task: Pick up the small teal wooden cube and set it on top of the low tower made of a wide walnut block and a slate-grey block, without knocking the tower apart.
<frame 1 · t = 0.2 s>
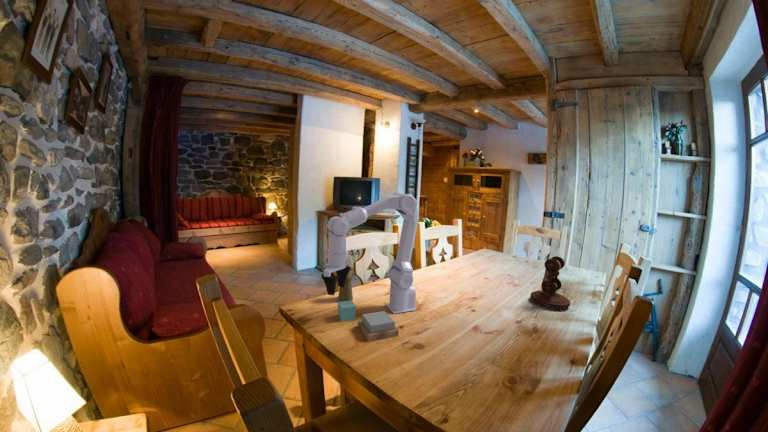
hand: (336, 290, 104), 10 cm above the table, tool pointing down, fingers open, 7 cm apart
teal cube: (346, 317, 106), on the table
walnut block: (377, 332, 98), on the table, touching grey block
grey block: (377, 325, 98), point 2 cm above the table, touching walnut block
olive upright rounded piece: (345, 299, 121), on the table
dark brown carved statue: (549, 303, 128), on the table
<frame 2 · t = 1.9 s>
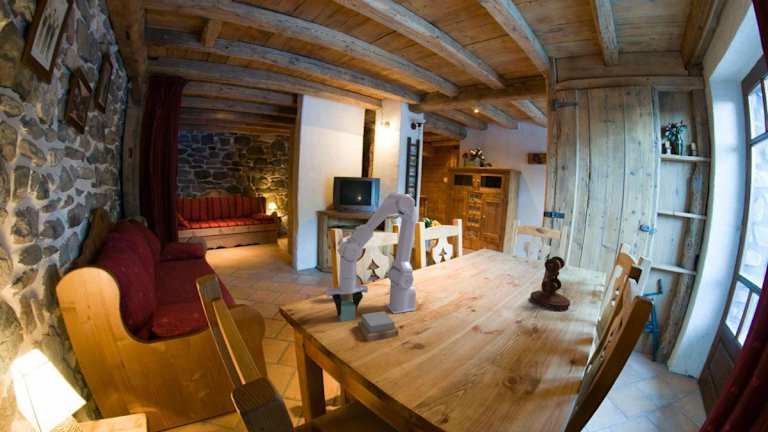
hand: (346, 313, 106), 1 cm above the table, tool pointing down, fingers closed on teal cube, 5 cm apart
teal cube: (346, 317, 106), on the table, touching gripper
everything else where it was.
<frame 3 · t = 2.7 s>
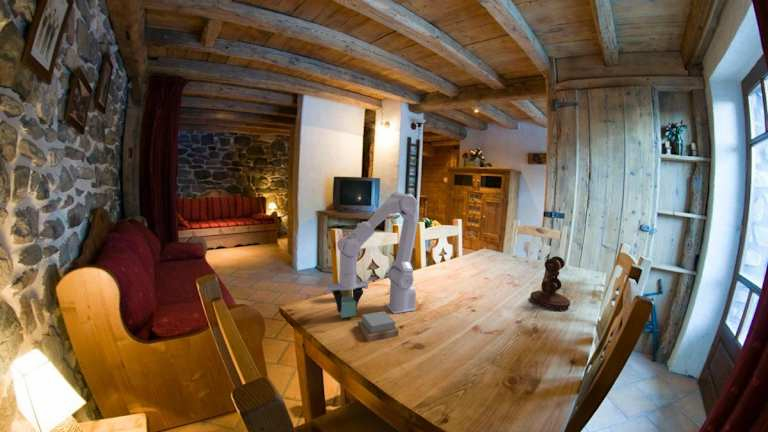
hand: (346, 309, 106), 3 cm above the table, tool pointing down, fingers closed on teal cube, 5 cm apart
teal cube: (346, 313, 106), point 1 cm above the table, touching gripper
everything else where it was.
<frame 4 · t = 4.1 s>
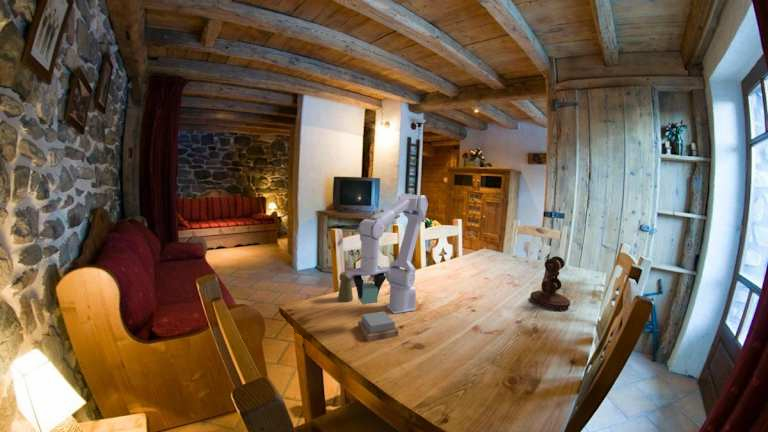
hand: (367, 296, 99), 10 cm above the table, tool pointing down, fingers closed on teal cube, 5 cm apart
teal cube: (367, 300, 100), point 9 cm above the table, touching gripper
everything else where it was.
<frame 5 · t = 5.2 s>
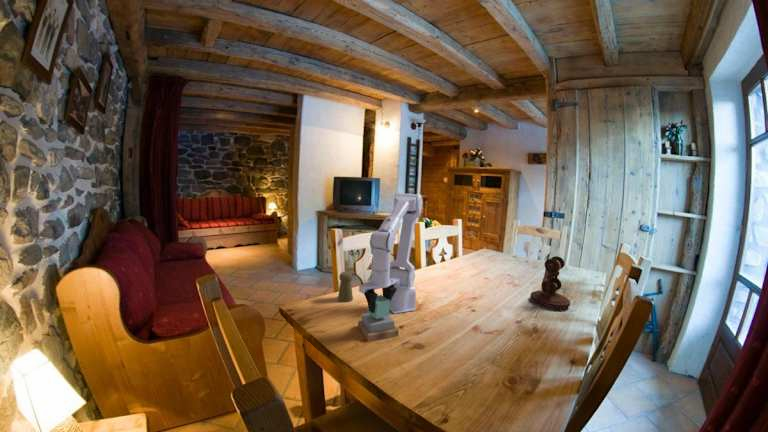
hand: (378, 309, 97), 7 cm above the table, tool pointing down, fingers closed on teal cube, 5 cm apart
teal cube: (378, 313, 97), point 6 cm above the table, touching gripper
everything else where it was.
when the fingers open (7 cm above the table, at t = 5.7 s): teal cube drops 1 cm, resting on grey block.
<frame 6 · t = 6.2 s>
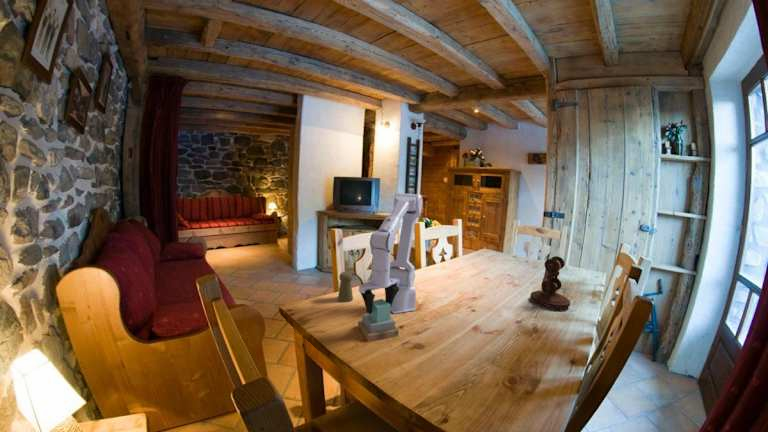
hand: (378, 309, 97), 7 cm above the table, tool pointing down, fingers open, 7 cm apart
teal cube: (379, 317, 98), point 4 cm above the table, touching grey block
grey block: (378, 325, 98), point 2 cm above the table, touching teal cube, walnut block
everything else where it was.
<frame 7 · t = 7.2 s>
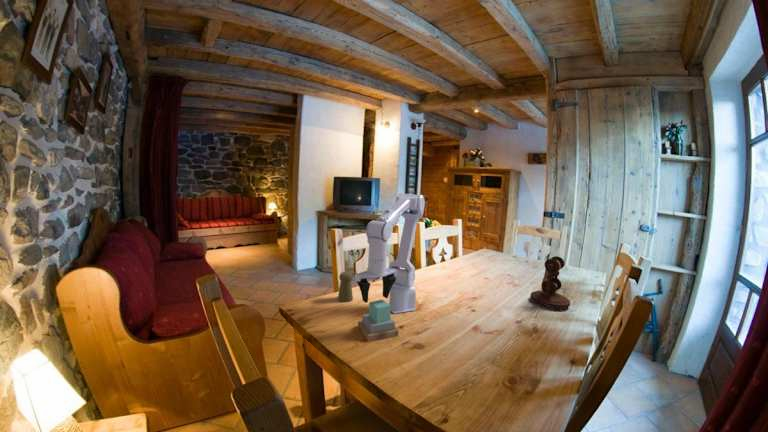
hand: (375, 299, 97), 10 cm above the table, tool pointing down, fingers open, 7 cm apart
walnut block: (377, 332, 98), on the table
grey block: (377, 325, 98), point 2 cm above the table, touching teal cube
everything else where it was.
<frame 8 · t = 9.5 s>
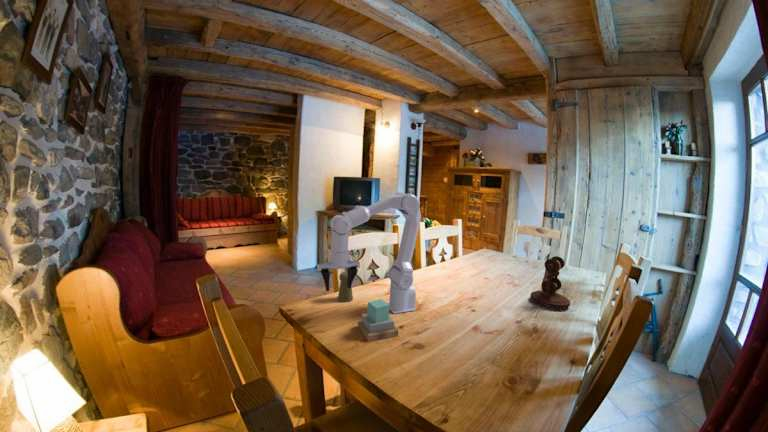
hand: (338, 288, 104), 10 cm above the table, tool pointing down, fingers open, 7 cm apart
teal cube: (377, 318, 97), point 4 cm above the table
walnut block: (377, 332, 98), on the table, touching grey block
grey block: (377, 325, 98), point 2 cm above the table, touching walnut block
everything else where it was.
at the end: teal cube 0.2 cm off-centre on the grey block, point 2.5 cm above the grey block's base; teal cube tilted 0°; grey block 0.4 cm from the walnut block (horizontally) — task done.
